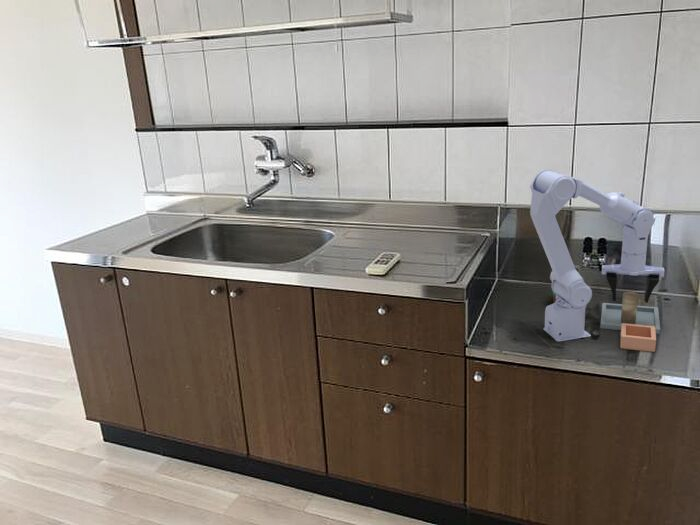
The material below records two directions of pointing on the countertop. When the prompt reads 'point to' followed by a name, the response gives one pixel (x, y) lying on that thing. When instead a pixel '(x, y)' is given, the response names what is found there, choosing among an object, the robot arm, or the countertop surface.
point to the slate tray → (643, 316)
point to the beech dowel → (629, 307)
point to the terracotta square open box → (638, 337)
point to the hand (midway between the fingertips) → (629, 300)
